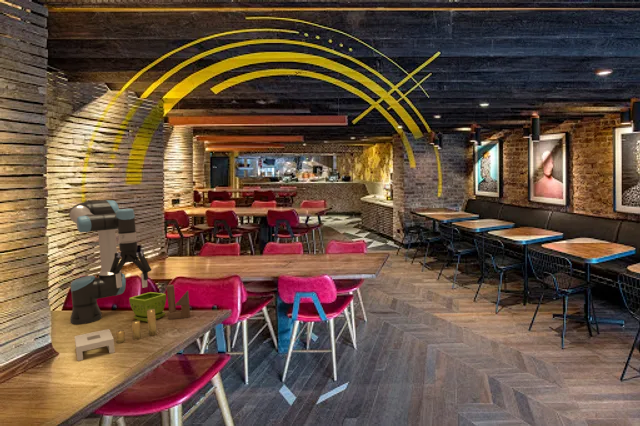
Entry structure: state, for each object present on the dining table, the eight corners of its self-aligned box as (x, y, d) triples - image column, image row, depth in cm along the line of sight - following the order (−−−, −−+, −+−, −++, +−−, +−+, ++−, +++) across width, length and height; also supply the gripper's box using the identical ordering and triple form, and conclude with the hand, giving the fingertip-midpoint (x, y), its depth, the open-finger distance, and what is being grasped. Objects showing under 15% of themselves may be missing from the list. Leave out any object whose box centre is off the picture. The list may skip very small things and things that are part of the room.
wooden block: (188, 318, 225) (186, 285, 224) (168, 319, 224) (165, 286, 223) (190, 315, 229) (187, 283, 227) (170, 317, 228) (167, 284, 226)
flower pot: (168, 316, 230) (166, 293, 229) (146, 324, 218) (144, 300, 217) (152, 313, 237) (150, 291, 236) (129, 320, 225) (127, 297, 224)
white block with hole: (75, 349, 188) (74, 336, 188) (110, 341, 196) (109, 328, 195) (77, 361, 175) (76, 347, 174) (114, 352, 182) (113, 338, 182)
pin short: (116, 341, 195) (115, 331, 195) (124, 339, 197) (123, 329, 197) (117, 344, 192) (116, 333, 192) (125, 342, 194) (124, 331, 194)
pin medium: (132, 338, 199) (131, 321, 198) (140, 336, 201) (139, 319, 200) (133, 340, 196) (132, 323, 195) (142, 338, 198) (140, 321, 197)
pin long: (148, 334, 203) (146, 310, 202) (156, 332, 205) (154, 308, 204) (149, 336, 200) (147, 311, 199) (157, 334, 202) (155, 310, 201)
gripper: (99, 244, 194) (103, 289, 195) (146, 242, 188) (150, 289, 190) (110, 241, 201) (114, 285, 203) (156, 240, 196) (160, 285, 197)
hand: (132, 287), depth 196 cm, fingers open, 13 cm apart
